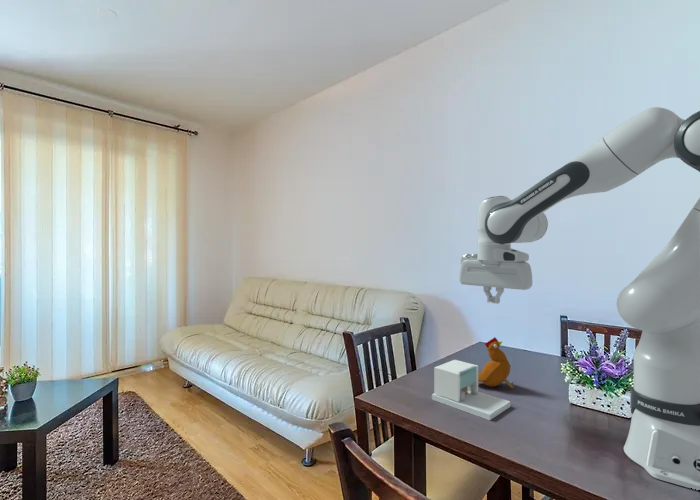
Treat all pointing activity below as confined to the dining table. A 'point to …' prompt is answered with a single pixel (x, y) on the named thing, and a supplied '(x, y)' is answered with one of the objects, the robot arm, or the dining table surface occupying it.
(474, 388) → the white peg base plate
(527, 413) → the dining table surface
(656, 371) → the robot arm
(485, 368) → the toy
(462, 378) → the cover
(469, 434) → the dining table surface
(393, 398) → the dining table surface
